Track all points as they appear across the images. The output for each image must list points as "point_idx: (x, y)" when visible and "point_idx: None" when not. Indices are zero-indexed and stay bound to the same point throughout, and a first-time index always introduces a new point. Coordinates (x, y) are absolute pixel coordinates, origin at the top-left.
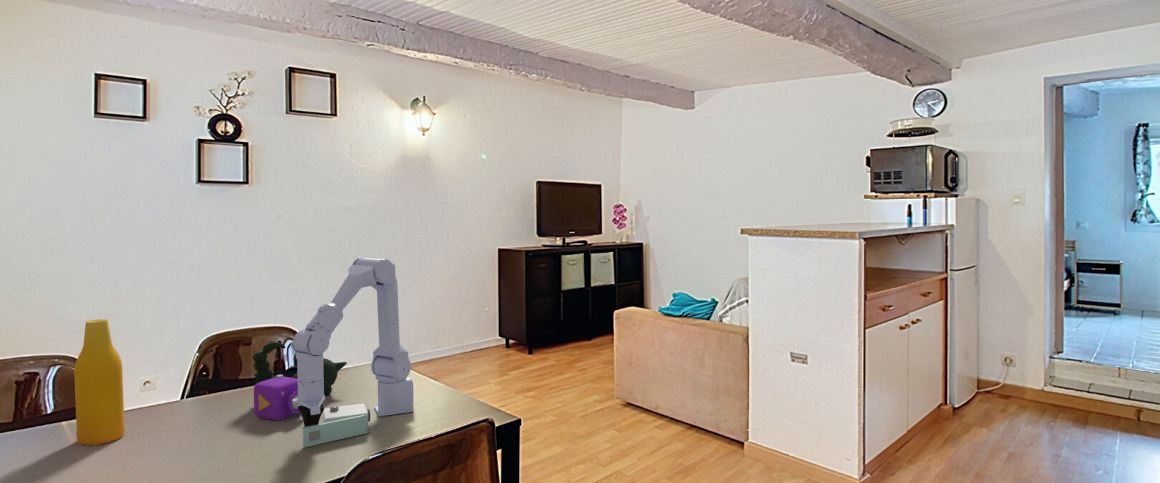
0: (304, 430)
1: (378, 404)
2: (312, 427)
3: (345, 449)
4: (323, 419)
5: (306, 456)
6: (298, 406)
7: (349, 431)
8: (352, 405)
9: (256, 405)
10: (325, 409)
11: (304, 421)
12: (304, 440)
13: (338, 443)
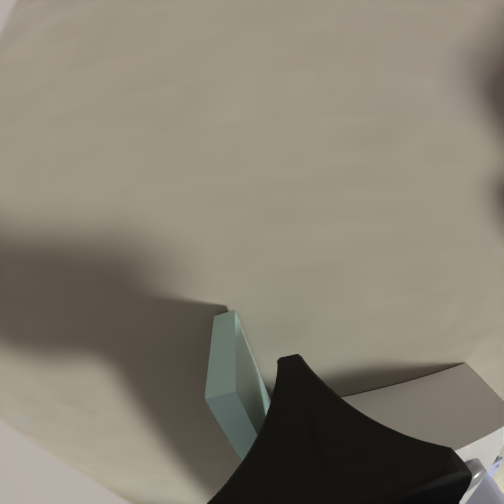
0: (208, 392)
1: (475, 494)
2: (232, 442)
3: (155, 461)
4: (476, 393)
5: (92, 330)
6: (455, 479)
7: None
8: (461, 502)
9: None
10: (501, 432)
11: (255, 440)
12: (214, 343)
13: None
